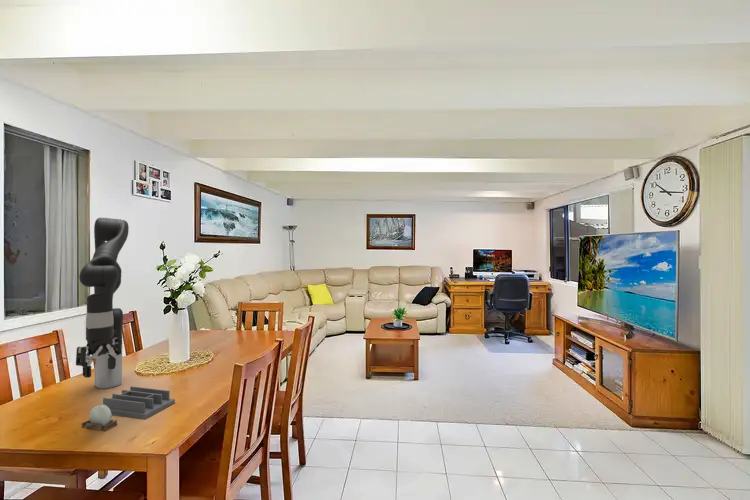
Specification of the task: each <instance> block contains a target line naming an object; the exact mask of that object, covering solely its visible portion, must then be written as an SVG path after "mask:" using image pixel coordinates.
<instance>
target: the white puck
mask: <svg viewBox="0 0 750 500" xmlns="http://www.w3.org/2000/svg"><path fill="white" fill-rule="evenodd" d="M112 416H113V415H112V414H111V410H110V409H109V407H108V406H106V405H103V403H102V404H99V405H97V406H95V407H93V408H92V409H91V410H90V411H89V420H90V421H91V423H92V424H97V425H102V428H104V426H105V425H107V424H109V423H110V421H111V420H112Z"/></svg>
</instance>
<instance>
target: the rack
mask: <svg viewBox="0 0 750 500" xmlns="http://www.w3.org/2000/svg"><path fill="white" fill-rule="evenodd" d="M102 404H103V405H106V406H108V407H109V409H110V410H111V414H112V416H119V417H120V416H121V417H126V418H135V419H141V420H146V419H148V418H150V417H152V416H154V415H155V414H157V413H159V412H161V411H163V410H164V409H167V408H169V407H170V406H172V405H174V404H176V399H174V398H171V394H170V390H167V389H166V390H164V389H159V388H151V387H148V388H147V387H141V386H140V387H139V386H132V385H131V386H129V390H127V389H122V390H121V393H120V394H118V393H112V397H111V398H110V397H109V398H108V397H103V398H102Z"/></svg>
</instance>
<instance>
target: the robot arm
mask: <svg viewBox="0 0 750 500" xmlns="http://www.w3.org/2000/svg"><path fill="white" fill-rule="evenodd" d="M93 227H94V228H93V231H94V232H93V236H94V238H93V239H94V252H93V256H92V259H90V260H89V261H88V262H87V263H86V264H85V265H84V266H83V267H82V269H81V270H80V273H79V279H78V280H79V282H80V283H81V284H82V286H84V287H86V288H87V287H89V288H92V287H93V291H94V293H92V294H90V295H88V296H87V297H86V315H85V340H86V342H87V344H86V345H85V346H77V347H76V355H75V365H76V366H79V367H82V376H83V377H84V378H88V379H89V378H91V377H92V364H93V362H94V361H95V360H96V362H95V364H94V387H96V388H97V389H104V390H105V389H112V388H115V387H119V386H120V385H122V384H123V327H124V326H123V324H124V313H123V310H122V309H121V308H119V307H118V308H117V307H116V308H115V307H113V303H114V302H113V299H114V295H115V293H116V292H117V291H118V290H119V288H120V286H121V284H122V268H121V265H120V264H119V263H118V257H119V255H120V252H121V250H122V249H123V247H124V245H125V244H126V241H127V240H128V236H129V228H130V226H129V223H128V221H127V220H125V219H120V218H110V217H109V218H108V217H98V218H96V219H95V221H94V226H93Z"/></svg>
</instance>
